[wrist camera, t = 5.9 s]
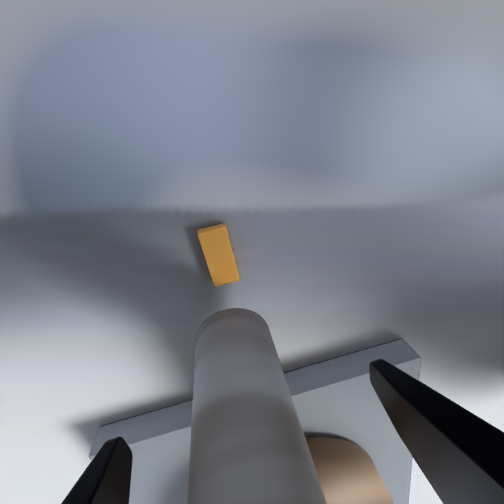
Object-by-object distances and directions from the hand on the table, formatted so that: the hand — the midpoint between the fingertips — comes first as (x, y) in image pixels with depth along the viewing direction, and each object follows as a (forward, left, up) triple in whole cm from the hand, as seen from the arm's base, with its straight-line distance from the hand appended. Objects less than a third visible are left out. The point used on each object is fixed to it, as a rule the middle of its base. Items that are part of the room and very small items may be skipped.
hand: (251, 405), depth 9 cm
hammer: (0, +9, -3) cm, 10 cm away
